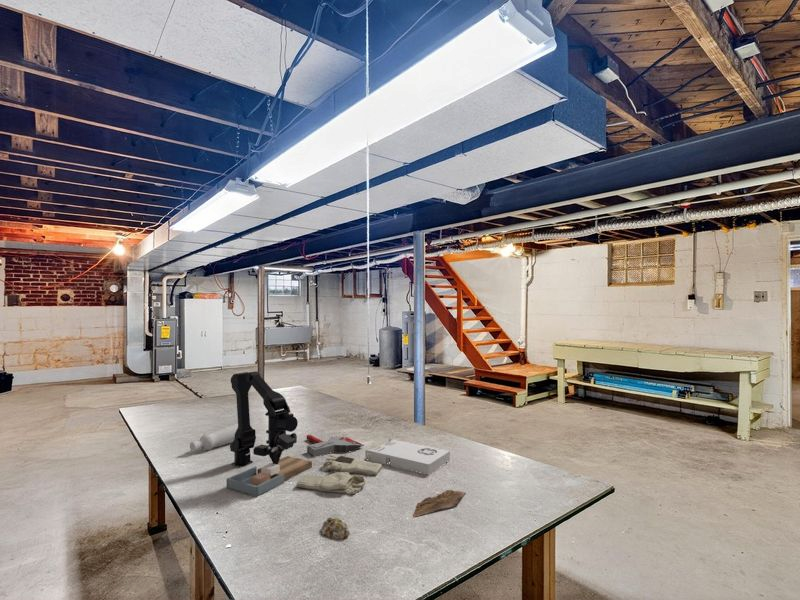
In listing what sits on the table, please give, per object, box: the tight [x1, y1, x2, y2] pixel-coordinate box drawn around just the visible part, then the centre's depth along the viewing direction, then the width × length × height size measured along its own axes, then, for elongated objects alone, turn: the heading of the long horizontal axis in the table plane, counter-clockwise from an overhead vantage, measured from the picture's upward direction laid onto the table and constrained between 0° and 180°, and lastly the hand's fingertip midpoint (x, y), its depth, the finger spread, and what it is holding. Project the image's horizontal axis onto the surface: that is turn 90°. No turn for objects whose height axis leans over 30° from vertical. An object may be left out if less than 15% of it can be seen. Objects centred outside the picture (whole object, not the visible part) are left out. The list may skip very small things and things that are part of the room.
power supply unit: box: [364, 438, 451, 475], centre depth 182 cm, size 19×33×5 cm, turn 57°
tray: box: [226, 466, 285, 498], centre depth 156 cm, size 16×14×4 cm
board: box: [257, 455, 313, 482], centre depth 170 cm, size 14×17×2 cm
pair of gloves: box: [296, 453, 383, 495], centre depth 163 cm, size 30×26×5 cm
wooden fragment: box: [412, 489, 466, 518], centre depth 141 cm, size 26×11×1 cm, turn 129°
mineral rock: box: [320, 517, 350, 540], centre depth 123 cm, size 11×4×8 cm
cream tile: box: [260, 462, 280, 476], centre depth 162 cm, size 5×5×2 cm
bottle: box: [189, 422, 238, 453], centre depth 203 cm, size 9×9×30 cm
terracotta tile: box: [251, 473, 270, 485], centre depth 158 cm, size 5×5×2 cm
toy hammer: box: [306, 434, 364, 458], centre depth 202 cm, size 24×4×30 cm
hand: (276, 466), depth 165 cm, fingers closed
